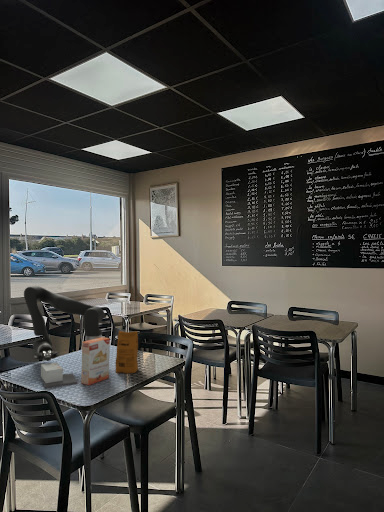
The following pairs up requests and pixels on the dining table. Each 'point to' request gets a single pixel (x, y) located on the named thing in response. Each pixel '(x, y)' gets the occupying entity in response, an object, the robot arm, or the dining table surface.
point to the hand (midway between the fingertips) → (48, 359)
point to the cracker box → (95, 360)
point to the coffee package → (127, 352)
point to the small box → (51, 372)
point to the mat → (67, 380)
